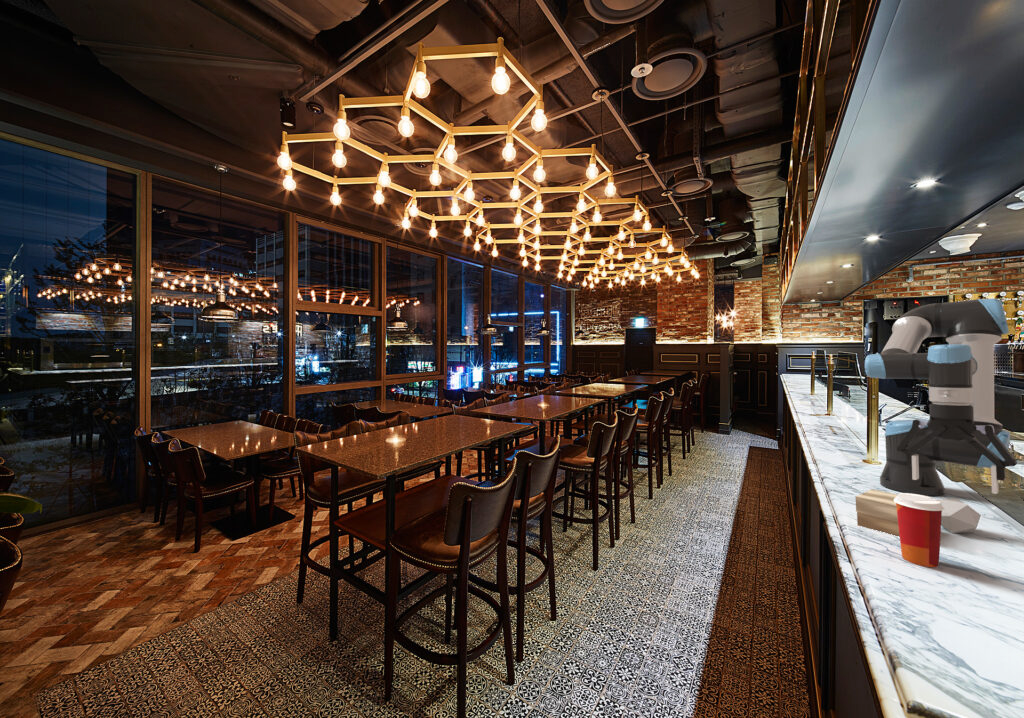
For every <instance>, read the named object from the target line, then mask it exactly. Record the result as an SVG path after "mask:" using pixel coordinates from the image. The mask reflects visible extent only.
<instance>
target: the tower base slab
mask: <svg viewBox="0 0 1024 718" xmlns="http://www.w3.org/2000/svg"><path fill="white" fill-rule="evenodd" d="M856 522H857V526H859V527H861V526H862V528H865V527H866V528H865V529H869V530H872V529H873V530H872V531H876V530H877V531H876V532H880V531H881V532H880V533H883V532H885V533H884V534H887V533H888V535H891V534H892V535H891V536H894V535H895V536H894V537H898V536H899V537H898V538H900V535H899V527H898V522H895V521H891V520H887V519H884V518H880V517H876V516H872V515H868V514H864V513H860V512H856Z"/></svg>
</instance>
